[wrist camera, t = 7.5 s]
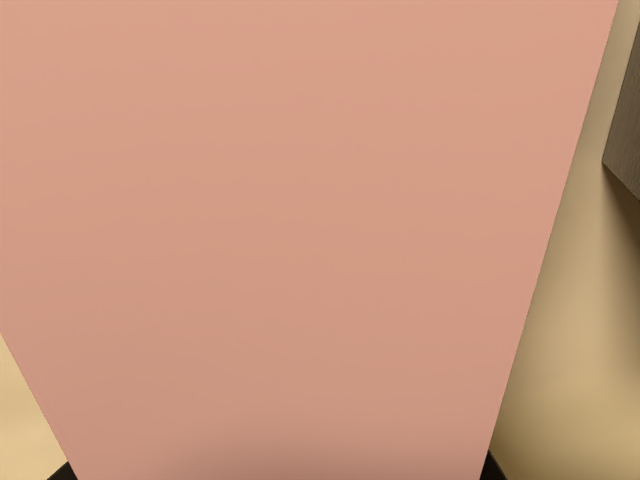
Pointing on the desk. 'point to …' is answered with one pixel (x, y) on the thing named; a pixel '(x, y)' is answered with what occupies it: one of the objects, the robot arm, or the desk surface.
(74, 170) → the pink block
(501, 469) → the robot arm
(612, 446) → the desk surface
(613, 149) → the dispenser
